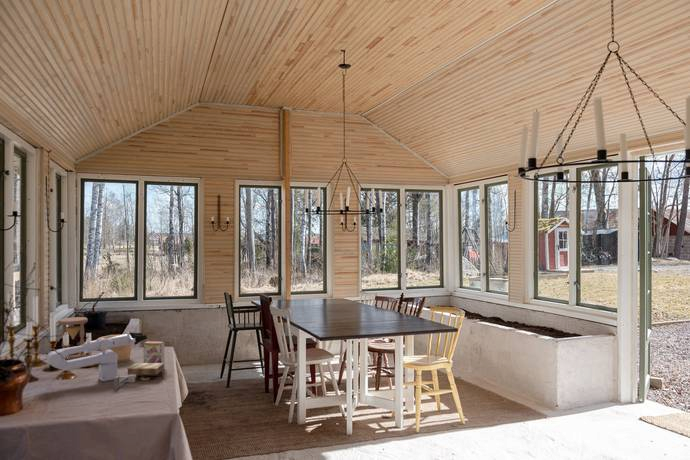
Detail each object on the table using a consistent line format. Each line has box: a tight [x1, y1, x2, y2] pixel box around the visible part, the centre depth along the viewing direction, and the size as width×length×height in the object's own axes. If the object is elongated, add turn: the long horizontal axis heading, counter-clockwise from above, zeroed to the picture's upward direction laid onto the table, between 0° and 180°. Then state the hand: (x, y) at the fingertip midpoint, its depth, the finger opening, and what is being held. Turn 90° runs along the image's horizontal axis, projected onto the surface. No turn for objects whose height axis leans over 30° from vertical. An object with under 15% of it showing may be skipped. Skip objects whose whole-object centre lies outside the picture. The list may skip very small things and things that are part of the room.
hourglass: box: [57, 316, 89, 361], centre depth 367 cm, size 18×18×25 cm
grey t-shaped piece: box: [113, 375, 136, 390], centre depth 301 cm, size 8×15×6 cm, turn 178°
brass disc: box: [140, 376, 151, 381], centre depth 313 cm, size 5×5×1 cm
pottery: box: [97, 334, 133, 364], centre depth 358 cm, size 22×22×14 cm
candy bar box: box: [143, 340, 166, 369], centre depth 333 cm, size 11×5×16 cm, turn 84°
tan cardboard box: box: [126, 362, 166, 377], centre depth 315 cm, size 17×12×7 cm
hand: (144, 335), depth 326 cm, fingers open, 7 cm apart
